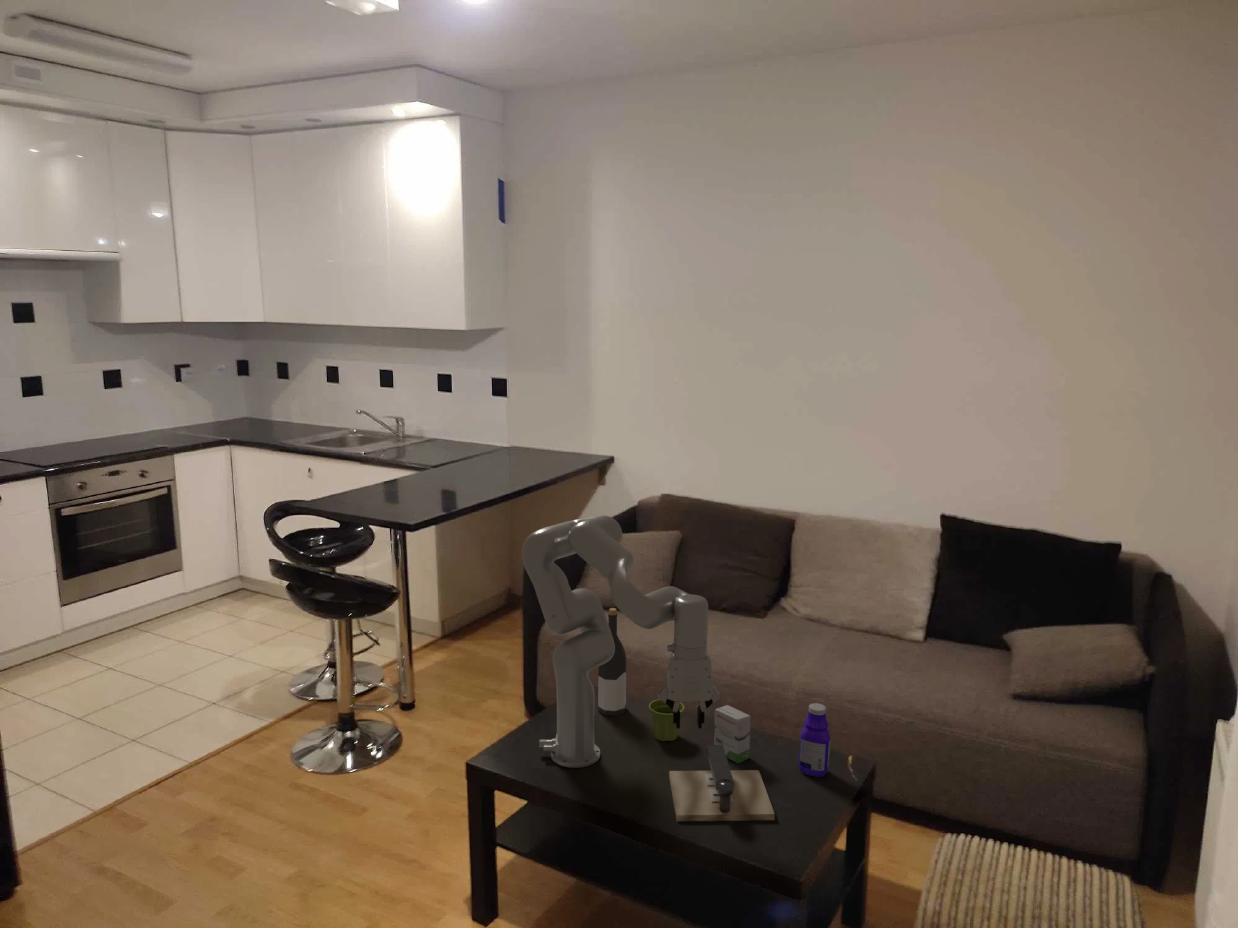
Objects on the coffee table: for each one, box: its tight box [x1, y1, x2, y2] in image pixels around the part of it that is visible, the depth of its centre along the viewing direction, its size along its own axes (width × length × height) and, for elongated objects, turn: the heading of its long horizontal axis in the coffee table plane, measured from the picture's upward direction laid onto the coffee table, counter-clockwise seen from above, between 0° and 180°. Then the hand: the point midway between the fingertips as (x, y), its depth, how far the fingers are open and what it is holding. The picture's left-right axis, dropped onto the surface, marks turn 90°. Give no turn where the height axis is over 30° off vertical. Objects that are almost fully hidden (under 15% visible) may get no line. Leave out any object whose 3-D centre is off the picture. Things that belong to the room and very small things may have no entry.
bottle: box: [798, 703, 832, 778], centre depth 219 cm, size 7×6×17 cm
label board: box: [668, 769, 776, 822], centre depth 208 cm, size 22×19×6 cm
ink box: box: [713, 704, 751, 764], centre depth 227 cm, size 9×5×12 cm, turn 39°
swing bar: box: [705, 744, 734, 796], centre depth 208 cm, size 4×19×2 cm, turn 2°
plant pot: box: [648, 698, 685, 742], centre depth 237 cm, size 9×9×9 cm
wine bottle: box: [597, 607, 627, 717], centre depth 250 cm, size 8×8×30 cm
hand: (688, 724), depth 203 cm, fingers open, 4 cm apart
